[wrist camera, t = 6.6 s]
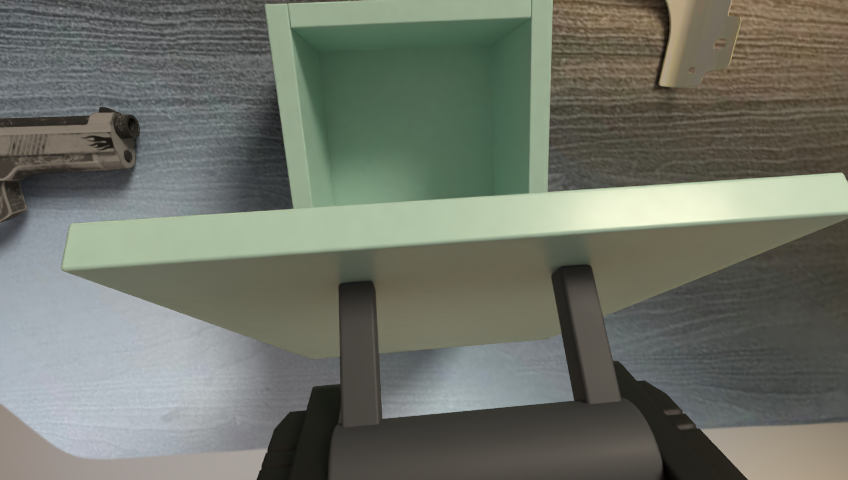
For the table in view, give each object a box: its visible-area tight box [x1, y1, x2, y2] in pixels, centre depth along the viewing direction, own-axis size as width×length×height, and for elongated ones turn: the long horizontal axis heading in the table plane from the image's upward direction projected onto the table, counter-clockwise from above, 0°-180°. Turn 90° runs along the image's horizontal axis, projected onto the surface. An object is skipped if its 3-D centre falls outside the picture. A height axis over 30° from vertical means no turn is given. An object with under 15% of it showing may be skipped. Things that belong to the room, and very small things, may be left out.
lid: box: [61, 173, 848, 480], centre depth 15 cm, size 18×13×5 cm
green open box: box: [265, 0, 553, 209], centre depth 26 cm, size 17×13×9 cm
